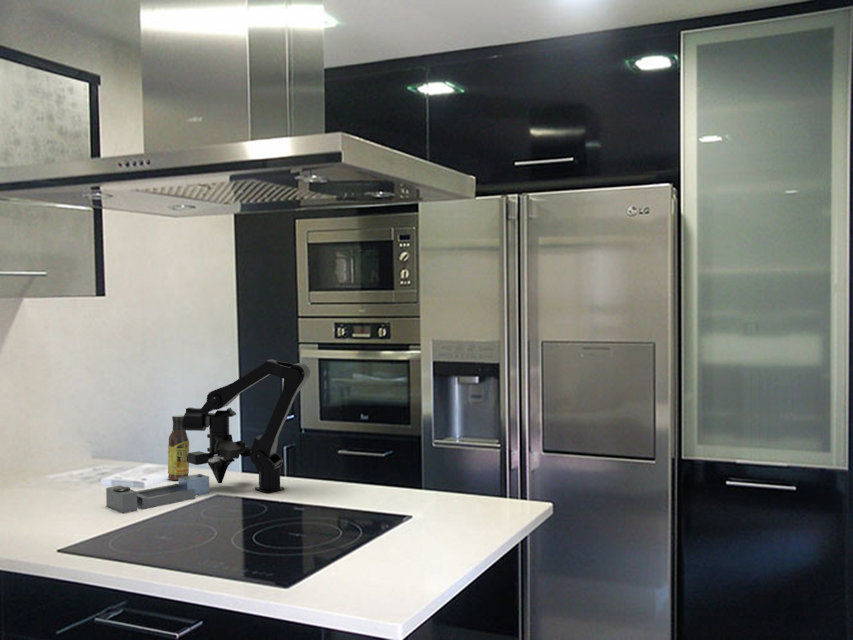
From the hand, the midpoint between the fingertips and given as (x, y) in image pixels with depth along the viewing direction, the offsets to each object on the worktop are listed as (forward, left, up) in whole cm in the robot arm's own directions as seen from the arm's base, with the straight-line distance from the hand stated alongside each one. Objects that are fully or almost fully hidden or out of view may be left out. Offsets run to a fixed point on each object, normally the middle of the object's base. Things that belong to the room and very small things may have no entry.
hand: (219, 483), depth 236 cm
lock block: (0, +8, -2) cm, 9 cm away
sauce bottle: (+20, +2, -2) cm, 20 cm away
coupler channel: (0, +21, -2) cm, 22 cm away
